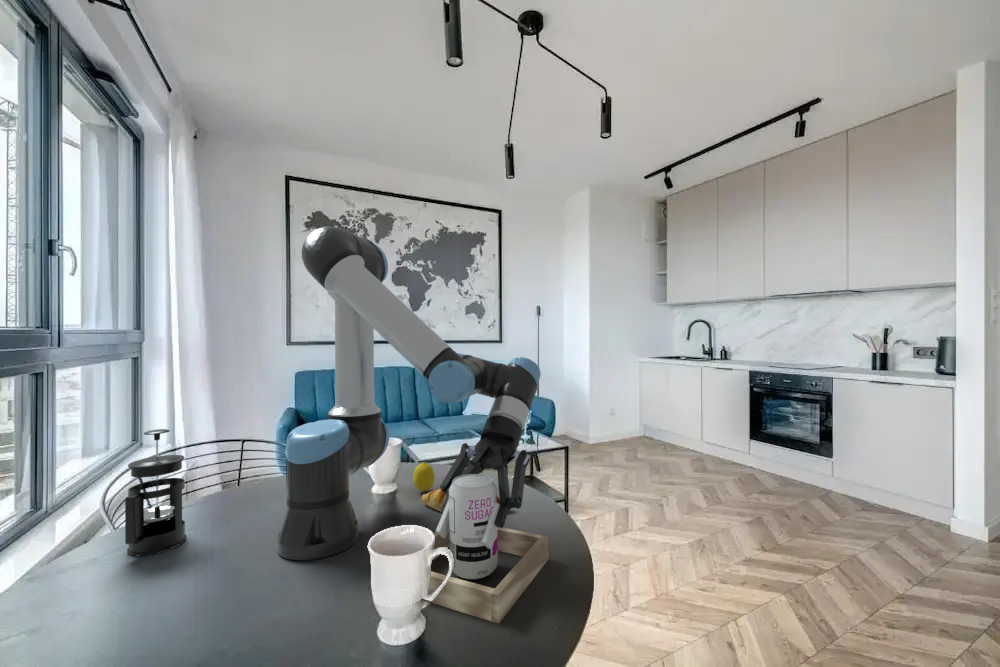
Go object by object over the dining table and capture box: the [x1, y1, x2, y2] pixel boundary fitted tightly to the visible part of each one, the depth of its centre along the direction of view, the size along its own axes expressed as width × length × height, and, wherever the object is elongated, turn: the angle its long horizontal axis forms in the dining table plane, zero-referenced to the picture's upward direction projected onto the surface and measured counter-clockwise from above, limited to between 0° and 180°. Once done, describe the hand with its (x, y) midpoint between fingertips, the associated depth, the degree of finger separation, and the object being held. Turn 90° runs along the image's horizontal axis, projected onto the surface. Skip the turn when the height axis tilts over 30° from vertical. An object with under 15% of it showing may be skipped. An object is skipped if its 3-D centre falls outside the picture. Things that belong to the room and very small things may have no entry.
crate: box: [429, 527, 550, 625], centre depth 75 cm, size 20×20×4 cm
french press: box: [124, 428, 187, 556], centre depth 87 cm, size 12×9×23 cm
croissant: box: [421, 488, 500, 512], centre depth 104 cm, size 21×10×8 cm, turn 77°
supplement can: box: [448, 473, 499, 580], centre depth 75 cm, size 8×8×15 cm
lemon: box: [412, 461, 435, 493], centre depth 115 cm, size 6×6×8 cm
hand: (463, 539), depth 72 cm, fingers closed on supplement can, 8 cm apart
